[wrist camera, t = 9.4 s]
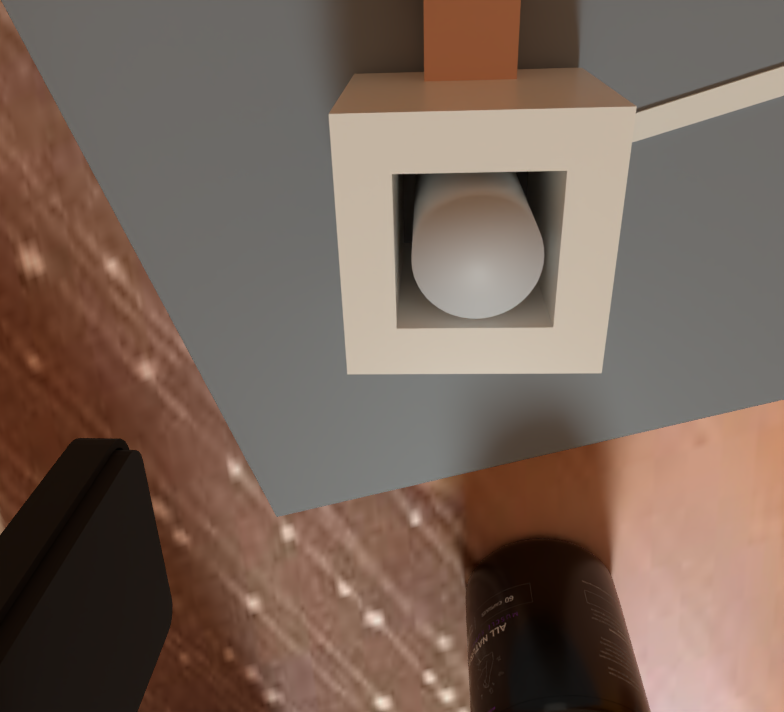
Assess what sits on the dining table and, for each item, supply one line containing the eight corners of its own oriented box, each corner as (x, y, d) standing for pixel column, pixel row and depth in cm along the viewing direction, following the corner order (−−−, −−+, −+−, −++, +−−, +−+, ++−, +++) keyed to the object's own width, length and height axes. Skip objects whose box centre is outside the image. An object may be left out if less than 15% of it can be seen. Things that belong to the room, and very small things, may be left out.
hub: (562, 278, 23) (601, 373, 18) (365, 280, 23) (347, 374, 18) (601, -141, 17) (674, -183, 12) (343, -130, 18) (308, -166, 13)
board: (285, 485, 31) (239, 655, 23) (-4, -81, 21) (-250, -103, 13) (826, 355, 26) (984, 511, 19) (789, -434, 16) (1090, -761, 9)
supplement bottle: (455, 538, 32) (469, 823, 21) (611, 525, 31) (704, 813, 21) (471, 641, 35) (489, 931, 25) (612, 631, 34) (693, 927, 24)
